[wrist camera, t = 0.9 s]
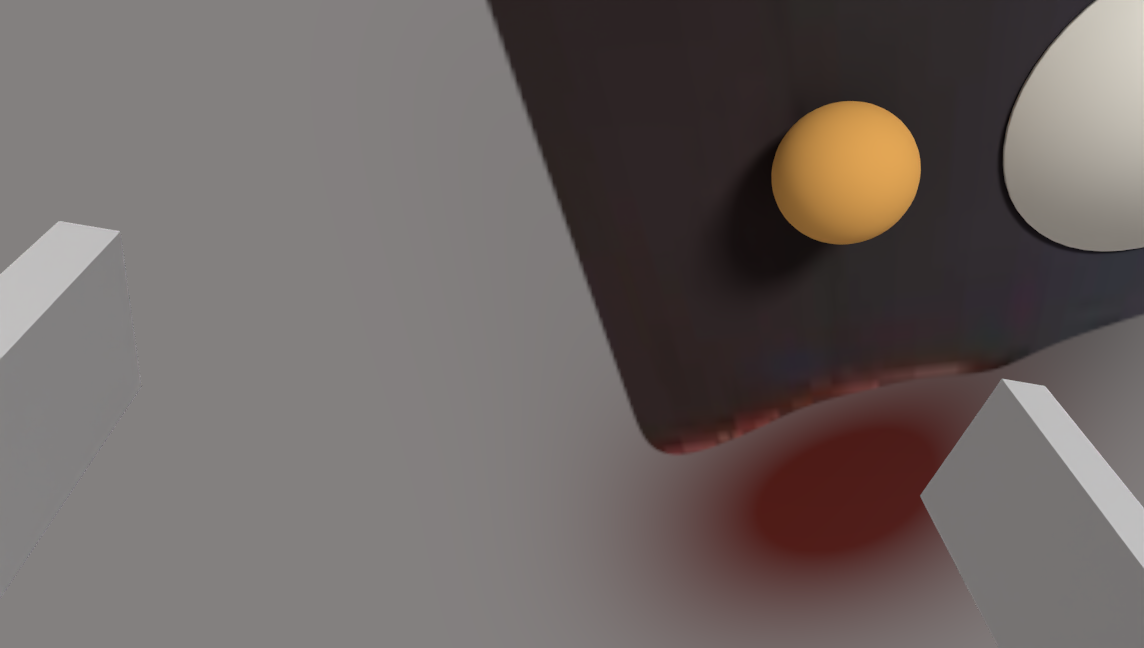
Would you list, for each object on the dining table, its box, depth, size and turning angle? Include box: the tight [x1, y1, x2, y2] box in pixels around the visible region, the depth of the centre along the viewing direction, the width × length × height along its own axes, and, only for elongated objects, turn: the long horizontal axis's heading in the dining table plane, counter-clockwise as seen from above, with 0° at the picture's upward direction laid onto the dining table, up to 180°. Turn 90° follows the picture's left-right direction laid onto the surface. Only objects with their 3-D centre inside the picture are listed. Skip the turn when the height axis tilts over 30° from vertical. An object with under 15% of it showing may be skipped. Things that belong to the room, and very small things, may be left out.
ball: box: [771, 101, 921, 244], centre depth 30 cm, size 6×6×6 cm
